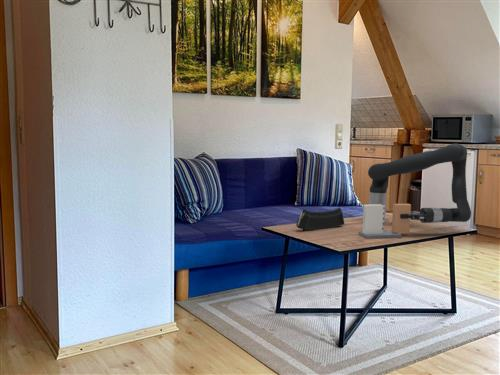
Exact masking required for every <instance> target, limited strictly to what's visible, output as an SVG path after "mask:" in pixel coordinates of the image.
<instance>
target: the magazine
mask: <svg viewBox="0 0 500 375" xmlns="http://www.w3.org/2000/svg"><path fill="white" fill-rule="evenodd" d="M344 220H345V219H344V215H343V211H342V209H341V207H337V208H335V209H331V210H324V211H309V210H307V209H302V211H301V212H300V215H299V216H298V218H297V221H296V227H297V229H302V232H305V231H320V230H328V229H333V228H337V227H340V226H343V225H345V221H344Z"/></svg>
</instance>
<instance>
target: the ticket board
mask: <svg viewBox="0 0 500 375" xmlns="http://www.w3.org/2000/svg"><path fill="white" fill-rule="evenodd" d="M384 206H385V205H383V204H374V205H369V204H363V210H362V211H363V212H362V228H361V229H362V230H358V233H357V234H358V235H359V236H361V237H362V238H365V239H367V240H369V239H372V240H373V239H401V238H402V233H393V232H392V230H384V224H385V223H384V208H385V207H384Z"/></svg>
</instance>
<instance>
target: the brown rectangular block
mask: <svg viewBox="0 0 500 375" xmlns="http://www.w3.org/2000/svg"><path fill="white" fill-rule="evenodd" d="M411 211H412V204H410V203H392V216H391V217H392V218H391V219H392V220H391V231H392V232H393V233H399V234H405V233H406V234H409V233H410V229H411V219H401V218H400V214H411Z"/></svg>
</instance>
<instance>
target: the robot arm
mask: <svg viewBox="0 0 500 375" xmlns="http://www.w3.org/2000/svg"><path fill="white" fill-rule="evenodd" d="M467 156H468V150H467V148H466V146H464V145H462V144H460V143H451V144H448V145H445V146H443V147H440V148H437V149H435V150H428V151H423V152H418V153H413V154H409V155H407V156H403V157H401V158H397V159H395V160H392V161H389V162H382V163H375V164H372V165H371V166H370V167H369V168H368V171H367V173H368V174H367V175H368V176H369V178H370V179H371V181H372V182H371V185H370V186H369V193H368V195H369V196H368V197H369V198H368V199H369V200H368V205H374V204H383V205H385V206H384V207H385V208H384V224H385V223H386V211H387V210H386V209H387V190H388V188H389V178H390V177H391V176H395V175H404V174H412V173H415V172H420V171H424V170H426V169H429V168H431V167H434V166H436V165H440V164H443V163H445V164H446V163H451V166H452V180H451V201H452V202H453V203H454V204H456V207H452V208H451V207H450V208H446V207H439V208H438V207H421V208H420V209H419V211H418V210H414V211H412V210H411V214H400V218H401V219H410V221H411V220H412V221H420V222H421V223H423V224H431V223H432V224H433V223H435V224H436V223H448V222H451V223H452V222H453V223H454V222H457V223H462V222H463V223H466V222H469V220H471V217H472V210H471V206H470V202H469V201H468V192H467V180H466V179H467V178H466V175H467V174H466V171H467V170H466V169H467V158H468V157H467Z"/></svg>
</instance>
